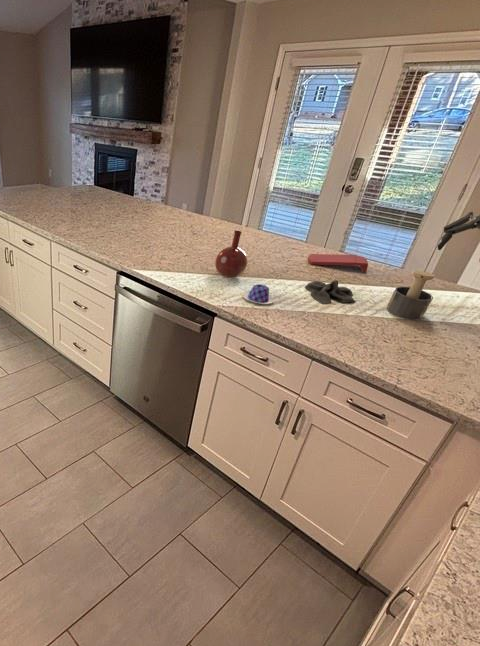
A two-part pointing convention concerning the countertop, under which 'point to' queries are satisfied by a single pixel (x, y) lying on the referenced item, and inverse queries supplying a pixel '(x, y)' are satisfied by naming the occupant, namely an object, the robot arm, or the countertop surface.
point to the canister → (408, 304)
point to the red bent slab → (338, 260)
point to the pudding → (259, 294)
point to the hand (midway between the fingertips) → (459, 253)
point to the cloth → (329, 292)
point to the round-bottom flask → (231, 259)
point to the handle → (419, 283)
